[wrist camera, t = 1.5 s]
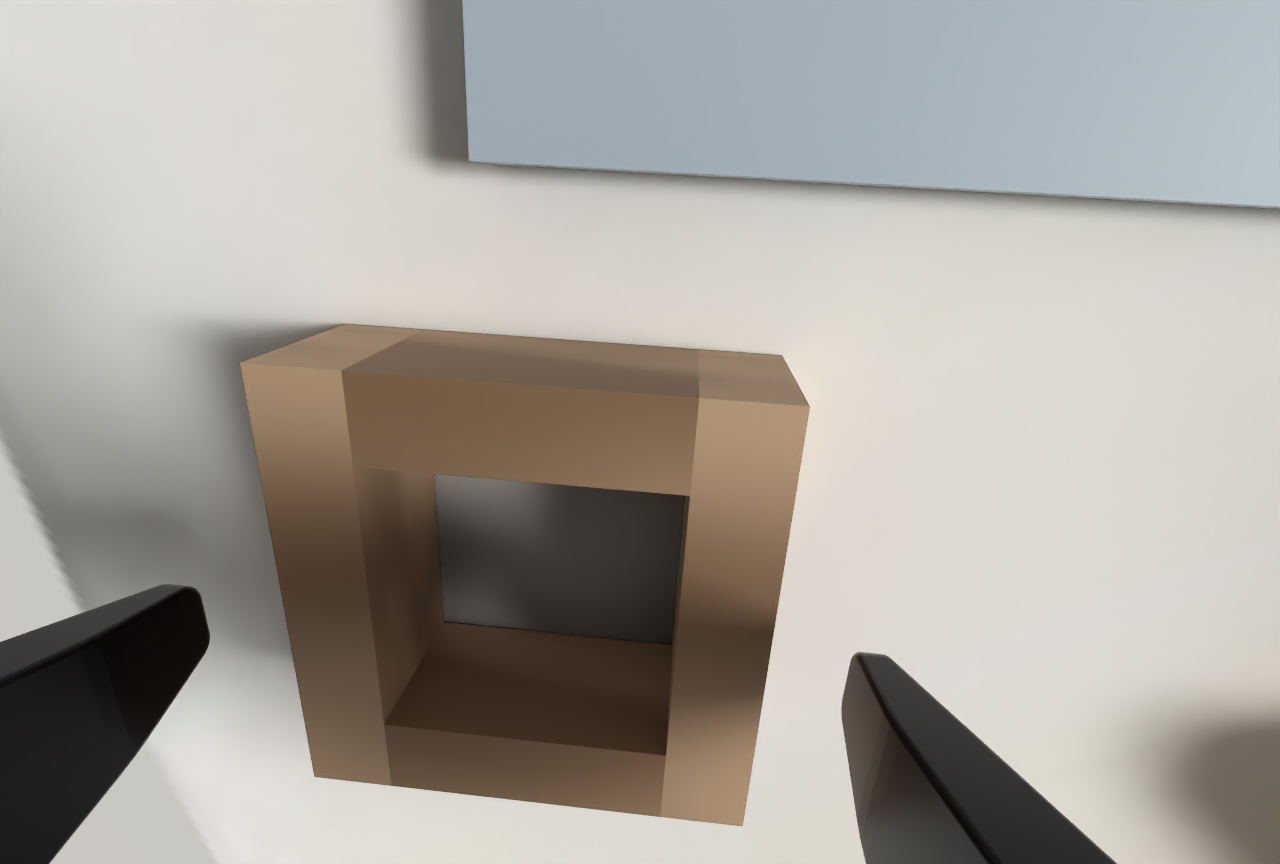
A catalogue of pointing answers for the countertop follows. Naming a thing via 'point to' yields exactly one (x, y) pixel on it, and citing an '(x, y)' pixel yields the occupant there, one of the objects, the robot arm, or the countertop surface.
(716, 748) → the square wooden frame
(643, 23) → the base plate with peg
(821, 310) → the countertop surface
